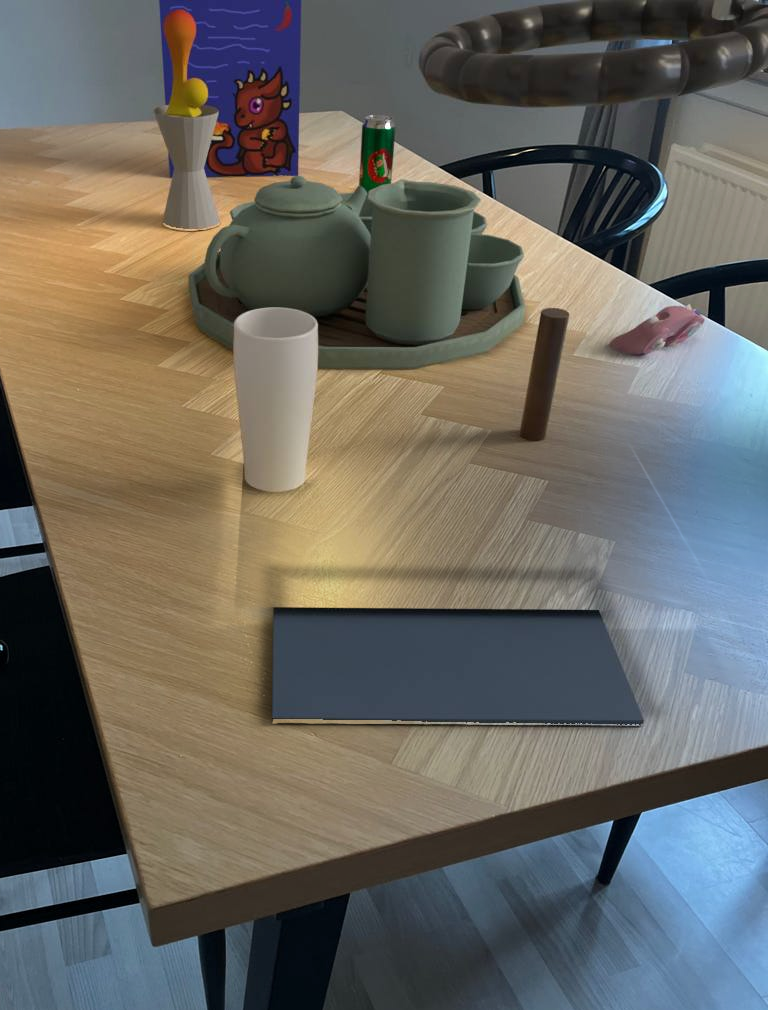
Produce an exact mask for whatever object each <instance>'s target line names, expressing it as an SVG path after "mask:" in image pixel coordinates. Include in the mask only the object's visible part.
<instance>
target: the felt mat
mask: <svg viewBox="0 0 768 1010" xmlns="http://www.w3.org/2000/svg"><path fill="white" fill-rule="evenodd" d="M272 611H273V613H272V614H273V616H272V617H273V619H272V678H271V679H272V681H271V683H272V686H271V692H272V694H271V720H272V719H323V720H392V721H397V720H401V721H422V722H426V721H427V722H466V723H467V722H474V723H476V722H479V723H506V722H509V723H513V722H516V723H545V724H547V723H551V724H553V723H554V724H558V723H560V724H564V723H566V724H570V723H571V724H575V723H577V724H578V723H579V724H580V723H582V724H586V723H588V724H591V723H592V724H617V725H618V724H620V725H622V724H625V725H627V724H630V725H632V724H635V725H636V724H639V725H641V724H643V725H644V722H645V718H644V715H643V714H642V712H641V709H640V707H639V704H638V702H637V699H636V696H635V695H634V693H633V692H634V691H633V689H632V687H631V685H630V682H629V680H628V677H627V675H626V672H625V670H624V667H623V666H622V662H621V660H620V657H619V655H618V652H617V650H616V648H615V645H614V643H613V640H612V638H611V635H610V632H609V631H608V628H607V626H606V623H605V621H604V619H603V616H602V614H601V611H600V609H560V608H559V609H558V608H557V609H556V608H555V609H554V608H553V609H552V608H550V609H549V608H546V609H544V608H543V609H542V608H541V609H540V608H435V607H434V608H432V607H431V608H430V607H429V608H425V607H421V608H420V607H413V608H412V607H411V608H410V607H312V606H311V607H310V606H309V607H307V606H304V607H303V606H299V607H298V606H297V607H296V606H295V607H294V606H293V607H292V606H289V607H288V606H273V610H272Z"/></svg>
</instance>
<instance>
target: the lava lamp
mask: <svg viewBox="0 0 768 1010" xmlns="http://www.w3.org/2000/svg"><path fill="white" fill-rule="evenodd" d="M164 33H165V37H166V40H167V43H168V46H169V49H170V54H171V59H172V63H173V87H172V95H171V99H170V102H169V105H161V106H157V107H156V108H154V109H153V113H154V117H155V119H156V123H157V126H158V127H159V131H160V134H161V136H162V139H163V141H164V144H165V147H166V149H167V152H169V155H170V158H171V161H172V163H173V166H174V172H173V176H172V178H171V181H170V186H169V189H168V190H169V191H168V194H167V200H166V204H165V209H164V213H163V217H162V222H163V223H165V224H166V225H169V226H171V227H176V228H183V229H203V228H208V227H211V226H215V225H217V224H218V223H219V222H221V219H220V217H219V213H218V209H217V206H216V203H215V200H214V197H213V193H212V191H211V187H210V184H209V181H208V177H206V174H205V171H204V166H205V162H206V158H207V154H208V151H209V147H210V143H211V140H212V136H213V132H214V129H215V125H216V121H217V117H218V113H219V110H218V109H217V108H215V107H212V106H208V105H204V104H205V102H206V101H207V98H208V89H207V86H206V84H205V83H204V82H203V81H202V80H200V79H198V78H191V79H189V80H187V63H188V59H189V54H190V50H191V47H192V44H193V41H194V38H195V35H196V24H195V21H194V19H193V17H192V16H191V15H190V14H189V13H188V12H186V11H184V10H180V9H178V10H174V11H172V12H170V13H169V14H168V15H167V17H166V19H165V22H164ZM163 223H162V224H163Z"/></svg>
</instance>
